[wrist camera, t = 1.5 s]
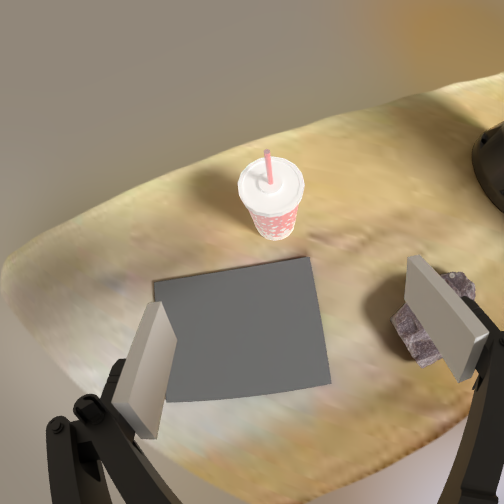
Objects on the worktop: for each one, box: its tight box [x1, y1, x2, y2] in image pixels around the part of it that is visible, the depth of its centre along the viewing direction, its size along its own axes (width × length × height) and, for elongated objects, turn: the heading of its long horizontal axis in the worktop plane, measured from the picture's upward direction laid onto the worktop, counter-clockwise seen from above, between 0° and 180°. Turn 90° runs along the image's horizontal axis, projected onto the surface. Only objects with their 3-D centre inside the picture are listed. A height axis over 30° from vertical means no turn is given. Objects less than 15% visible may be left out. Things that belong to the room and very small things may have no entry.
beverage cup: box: [238, 149, 305, 241], centre depth 30 cm, size 6×6×14 cm
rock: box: [390, 272, 475, 368], centre depth 29 cm, size 8×11×5 cm
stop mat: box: [154, 257, 332, 402], centre depth 33 cm, size 18×14×1 cm
